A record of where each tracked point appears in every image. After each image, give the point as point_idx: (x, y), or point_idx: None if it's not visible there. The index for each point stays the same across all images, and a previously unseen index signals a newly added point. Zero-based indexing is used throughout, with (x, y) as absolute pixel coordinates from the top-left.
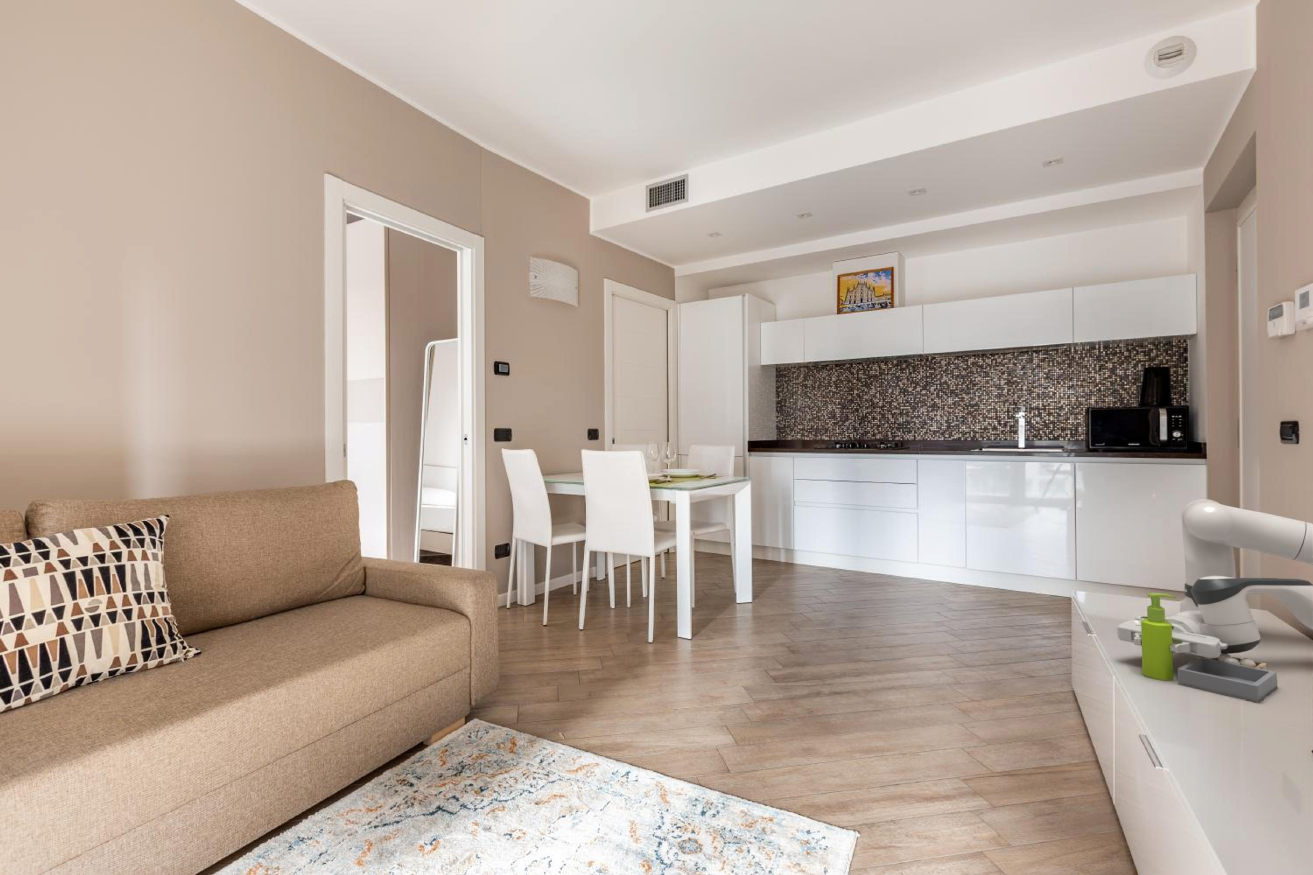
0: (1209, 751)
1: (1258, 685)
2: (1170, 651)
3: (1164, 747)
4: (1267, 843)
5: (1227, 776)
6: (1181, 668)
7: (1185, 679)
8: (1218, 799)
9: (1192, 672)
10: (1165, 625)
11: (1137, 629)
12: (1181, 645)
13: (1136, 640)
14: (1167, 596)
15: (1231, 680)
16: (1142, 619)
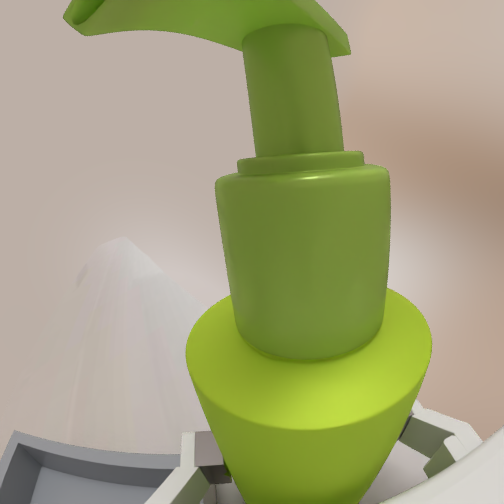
0: (124, 281)
1: (11, 436)
2: None
3: (157, 268)
4: (107, 246)
5: (115, 267)
6: None
7: None
8: (122, 252)
9: (152, 455)
10: (209, 310)
11: (500, 442)
12: (175, 472)
13: None
14: (168, 22)
15: (55, 443)
16: (403, 299)
